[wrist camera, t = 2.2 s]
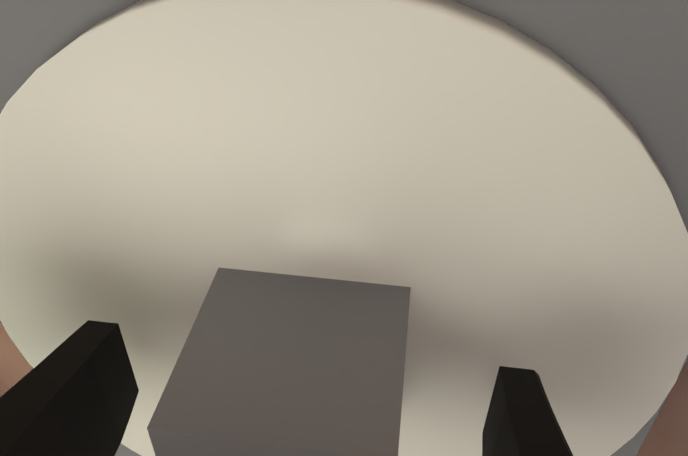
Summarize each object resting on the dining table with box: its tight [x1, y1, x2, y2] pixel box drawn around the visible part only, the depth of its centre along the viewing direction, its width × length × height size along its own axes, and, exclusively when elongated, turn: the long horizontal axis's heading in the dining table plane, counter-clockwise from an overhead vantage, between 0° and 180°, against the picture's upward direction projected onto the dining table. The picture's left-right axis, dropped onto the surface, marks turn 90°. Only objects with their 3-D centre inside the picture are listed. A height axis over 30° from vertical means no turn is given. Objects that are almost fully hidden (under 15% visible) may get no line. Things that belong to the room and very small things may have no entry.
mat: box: [0, 0, 688, 456], centre depth 13 cm, size 15×15×1 cm
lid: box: [0, 0, 688, 456], centre depth 11 cm, size 14×14×4 cm
